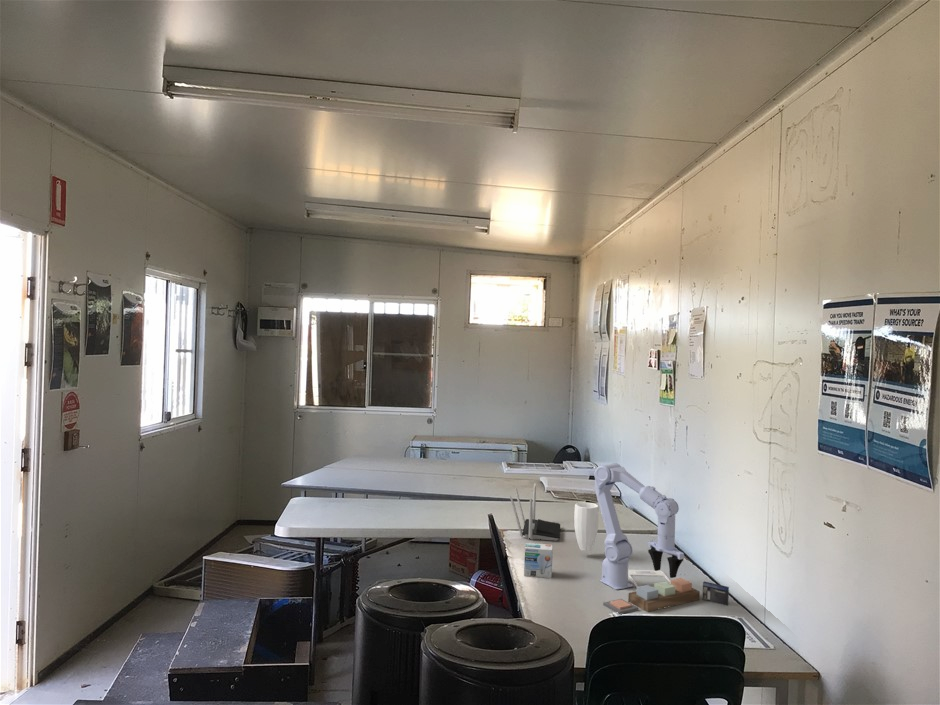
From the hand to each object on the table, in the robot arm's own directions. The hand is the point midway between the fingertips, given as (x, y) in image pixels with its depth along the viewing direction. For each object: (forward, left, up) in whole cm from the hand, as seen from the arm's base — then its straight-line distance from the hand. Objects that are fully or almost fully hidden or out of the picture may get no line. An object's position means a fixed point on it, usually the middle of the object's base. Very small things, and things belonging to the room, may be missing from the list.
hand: (664, 573), depth 212 cm
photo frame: (-17, +10, -10) cm, 22 cm away
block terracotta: (0, +8, -8) cm, 11 cm away
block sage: (0, 0, -8) cm, 8 cm away
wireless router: (-84, +3, -10) cm, 85 cm away
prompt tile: (-2, -18, -9) cm, 20 cm away
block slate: (0, -8, -8) cm, 11 cm away
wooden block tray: (0, 0, -9) cm, 9 cm away
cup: (-48, +4, -10) cm, 49 cm away
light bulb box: (-39, -26, -10) cm, 48 cm away
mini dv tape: (+8, +16, -10) cm, 20 cm away
